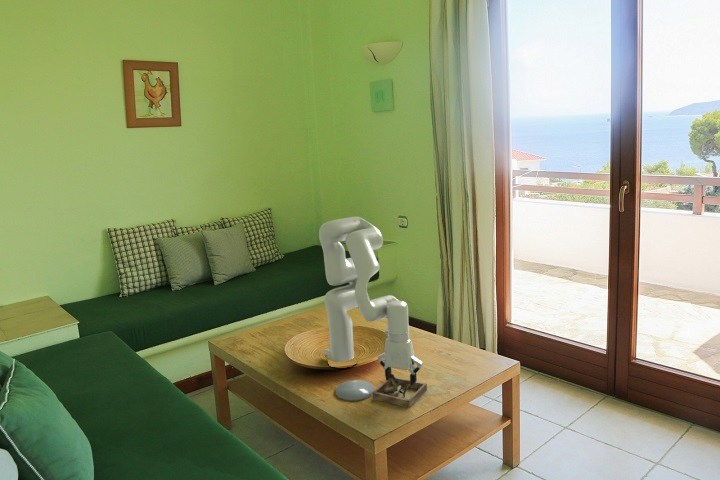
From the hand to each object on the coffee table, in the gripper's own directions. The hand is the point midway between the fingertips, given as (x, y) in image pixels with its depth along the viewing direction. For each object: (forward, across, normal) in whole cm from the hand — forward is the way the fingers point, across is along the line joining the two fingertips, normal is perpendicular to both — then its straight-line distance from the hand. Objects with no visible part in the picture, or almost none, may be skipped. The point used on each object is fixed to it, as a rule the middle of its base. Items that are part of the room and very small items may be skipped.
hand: (400, 381), depth 209 cm
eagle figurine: (+6, -2, 0) cm, 6 cm away
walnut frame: (+5, -1, 0) cm, 5 cm away
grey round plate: (+5, -17, -5) cm, 18 cm away
